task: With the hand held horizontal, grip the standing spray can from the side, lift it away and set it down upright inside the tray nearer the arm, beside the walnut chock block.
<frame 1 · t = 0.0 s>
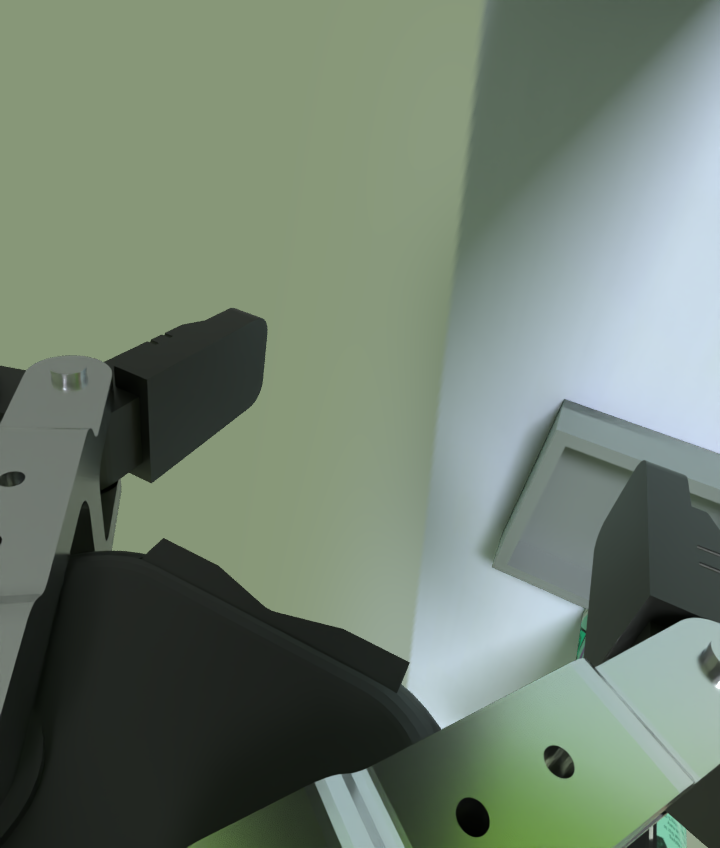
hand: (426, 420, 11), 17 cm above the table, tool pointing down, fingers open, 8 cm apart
tray: (623, 509, 30), on the table
spray can: (628, 626, 35), on the table
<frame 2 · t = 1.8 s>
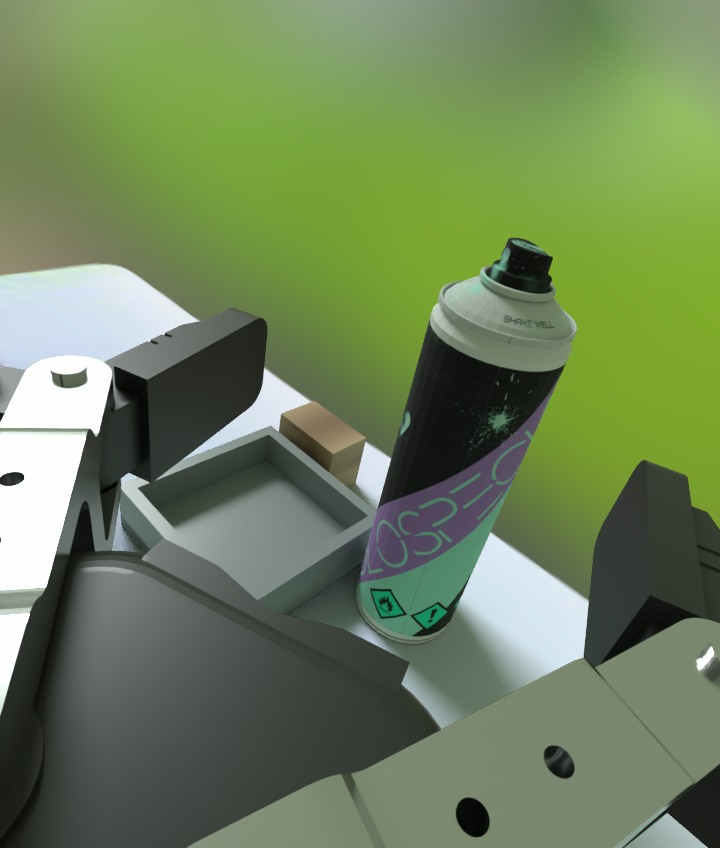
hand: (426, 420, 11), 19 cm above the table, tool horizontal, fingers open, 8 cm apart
chock block: (315, 472, 39), on the table
tray: (251, 539, 32), on the table
spray can: (402, 602, 31), on the table
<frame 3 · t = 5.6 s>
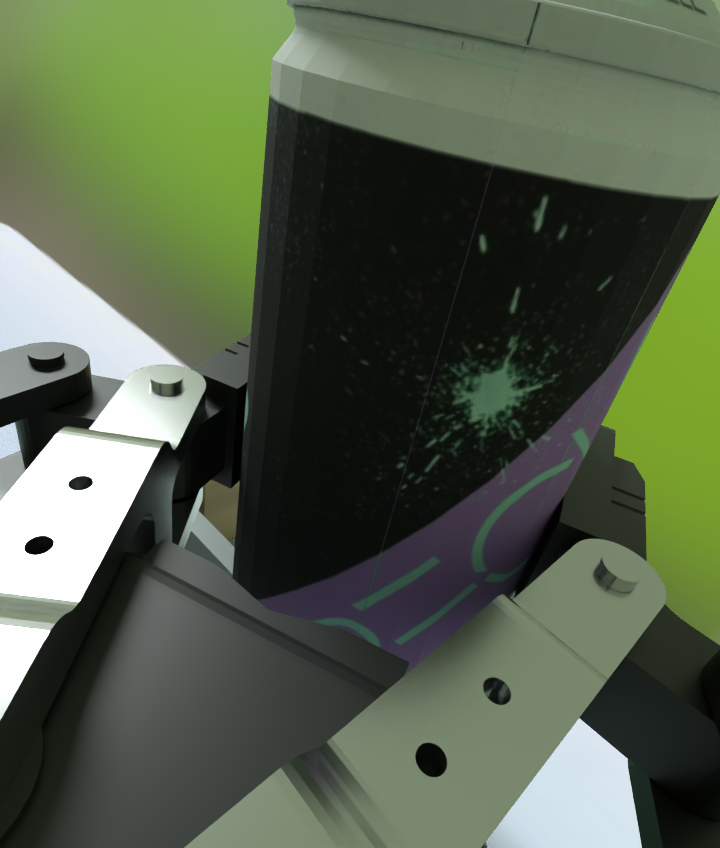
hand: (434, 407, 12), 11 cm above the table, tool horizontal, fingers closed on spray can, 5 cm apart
chock block: (200, 503, 24), on the table
tray: (44, 635, 18), on the table
spray can: (313, 763, 16), on the table, touching gripper
when the fingers open (13 cm above the table, at t = 9.9 s): spray can drops 1 cm, resting on tray.
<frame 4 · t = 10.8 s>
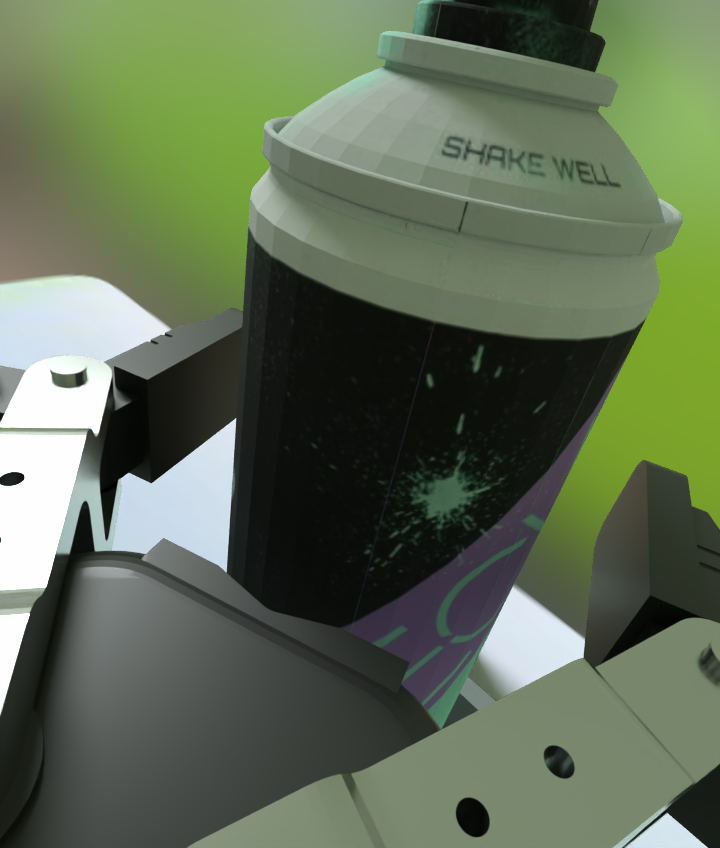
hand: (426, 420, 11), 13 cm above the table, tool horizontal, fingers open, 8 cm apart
tray: (305, 791, 17), on the table
spray can: (305, 788, 17), point 1 cm above the table, touching tray
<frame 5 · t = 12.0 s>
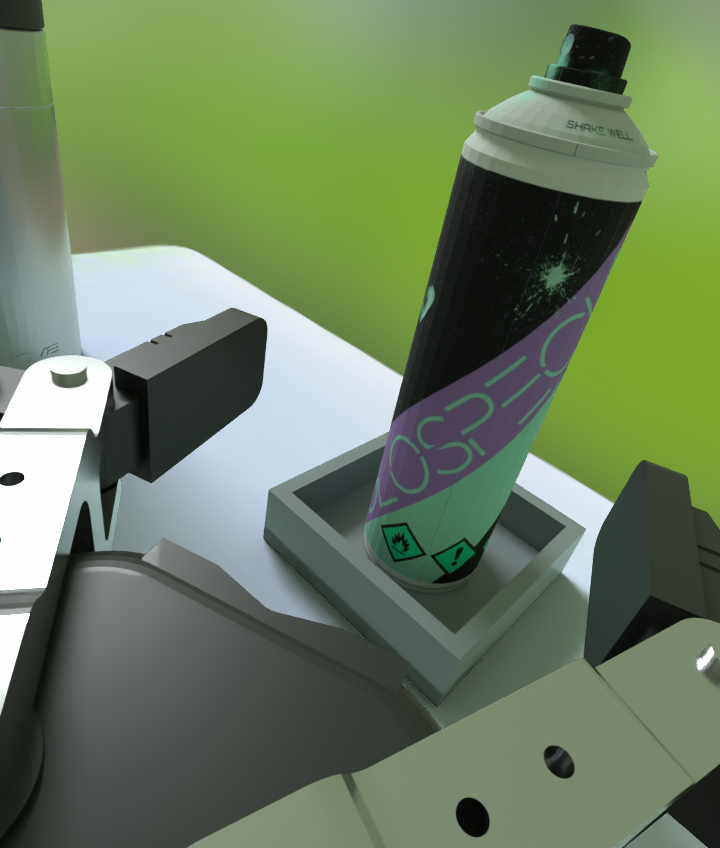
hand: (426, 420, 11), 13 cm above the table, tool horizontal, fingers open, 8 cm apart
tray: (417, 555, 27), on the table
spray can: (418, 548, 26), point 1 cm above the table, touching tray
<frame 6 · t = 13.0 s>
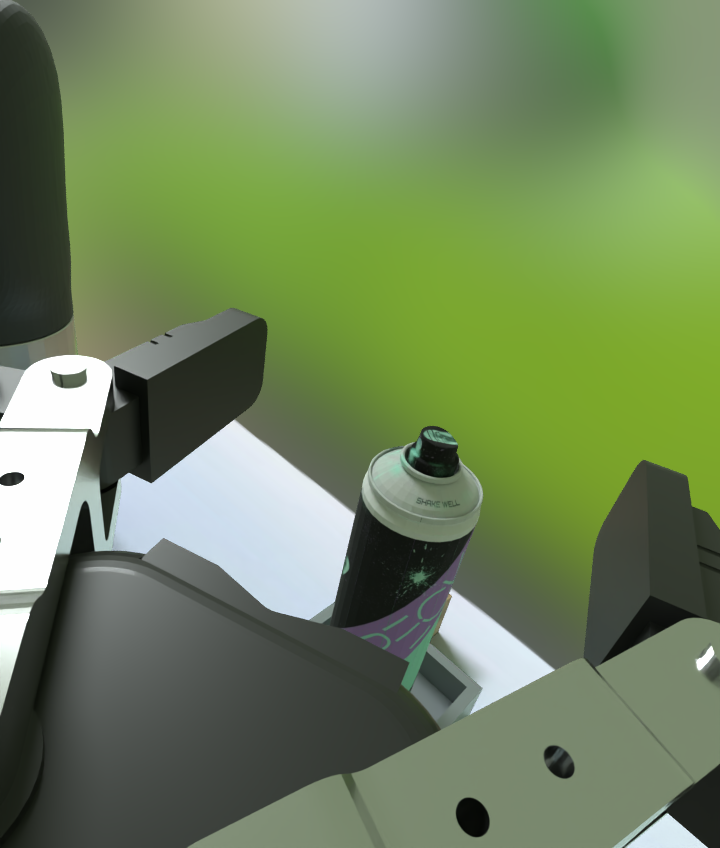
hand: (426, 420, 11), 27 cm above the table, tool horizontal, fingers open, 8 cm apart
tray: (356, 707, 35), on the table
spray can: (356, 704, 34), point 1 cm above the table, touching tray
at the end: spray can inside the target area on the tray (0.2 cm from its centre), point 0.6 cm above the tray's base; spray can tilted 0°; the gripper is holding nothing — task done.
